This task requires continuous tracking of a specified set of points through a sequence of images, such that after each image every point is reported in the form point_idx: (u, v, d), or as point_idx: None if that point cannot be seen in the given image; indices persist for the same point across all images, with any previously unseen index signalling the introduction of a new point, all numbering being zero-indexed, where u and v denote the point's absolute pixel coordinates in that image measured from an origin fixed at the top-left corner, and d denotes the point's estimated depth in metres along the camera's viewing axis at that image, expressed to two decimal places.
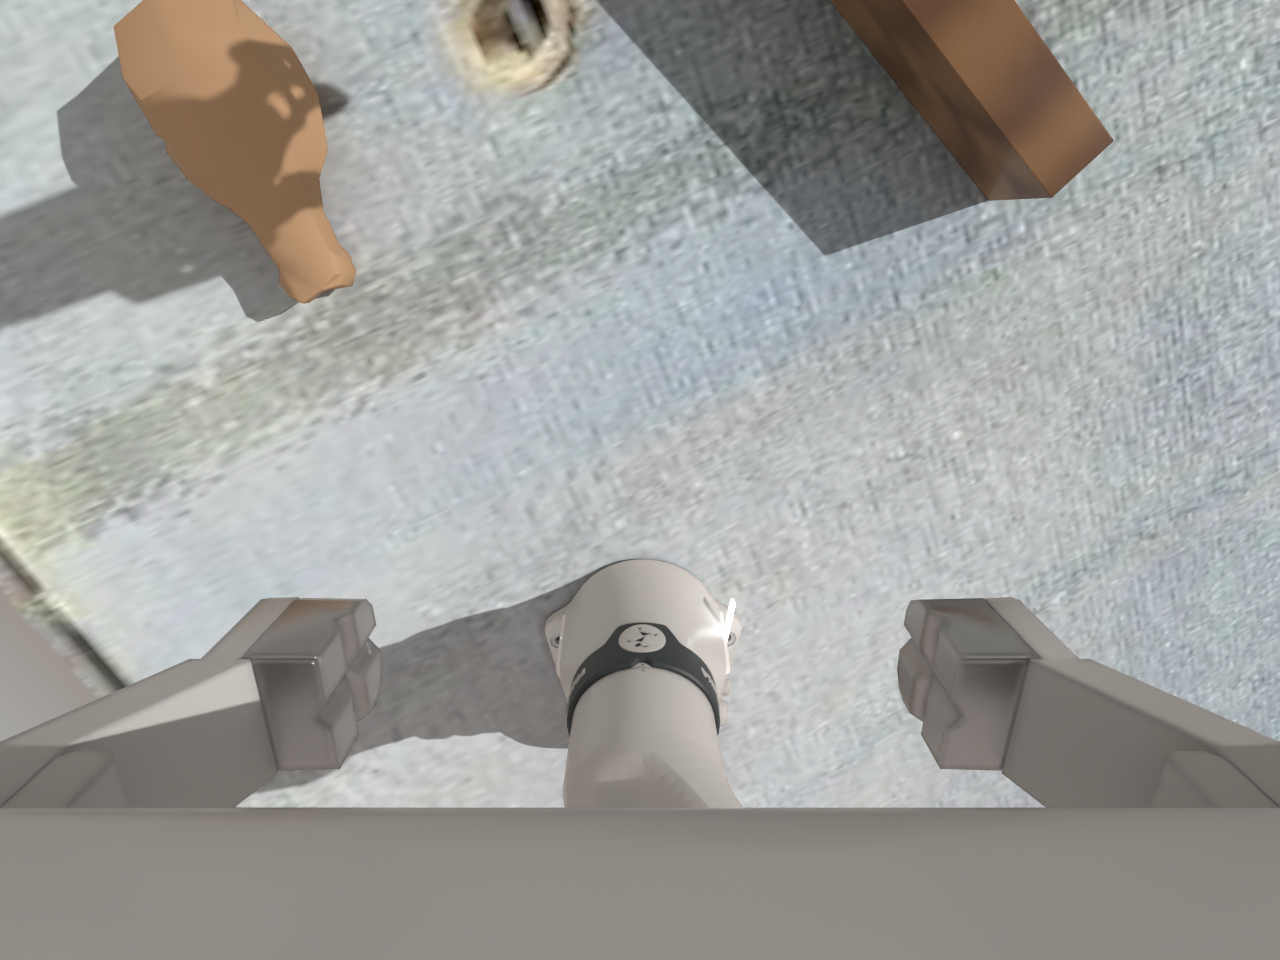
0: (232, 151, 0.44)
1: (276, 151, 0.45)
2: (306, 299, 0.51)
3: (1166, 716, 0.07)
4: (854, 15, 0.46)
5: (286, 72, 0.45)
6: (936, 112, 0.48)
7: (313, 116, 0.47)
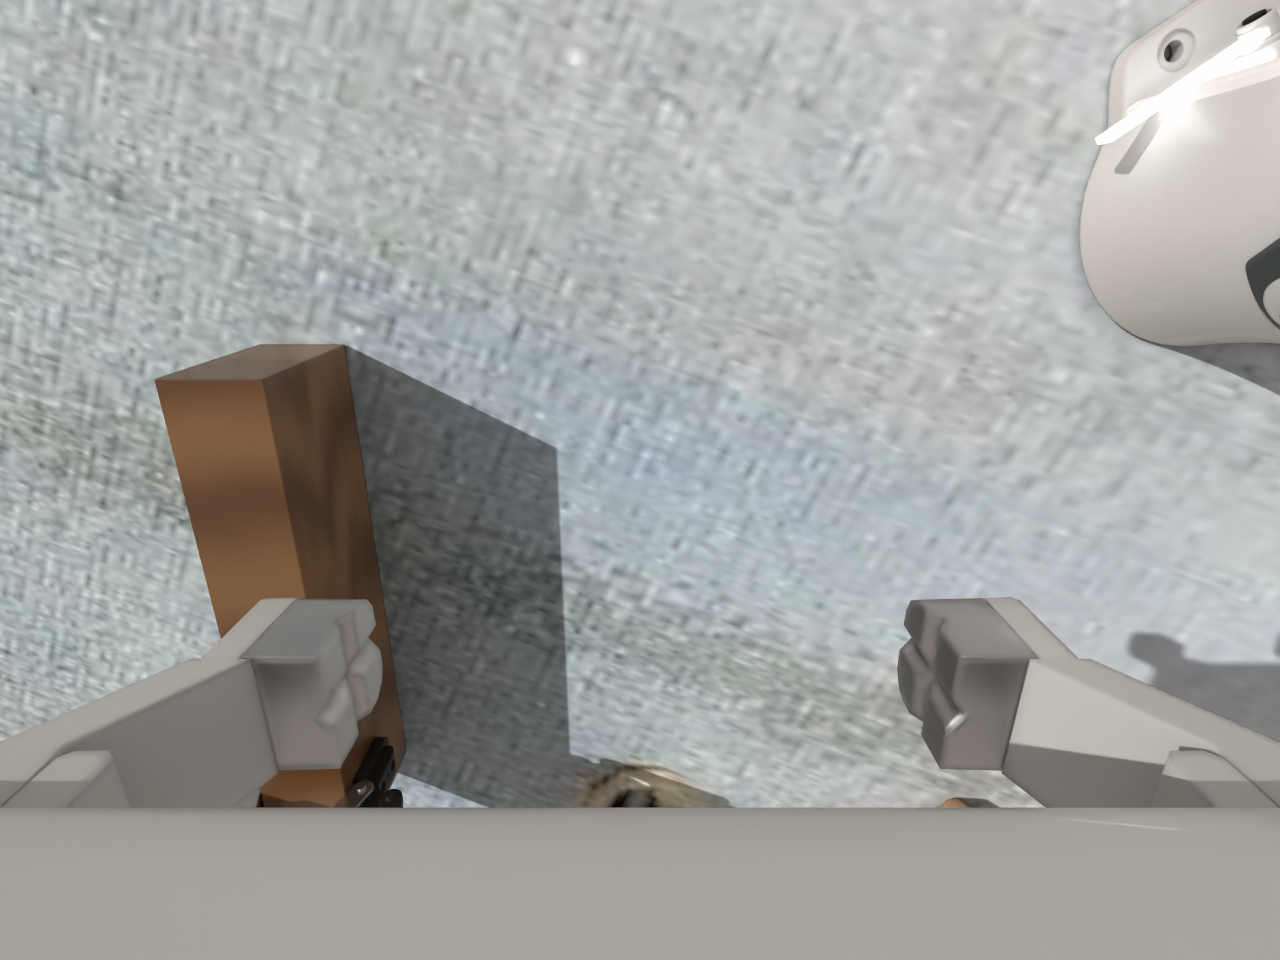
0: None
1: None
2: None
3: (1167, 715, 0.07)
4: (375, 626, 0.41)
5: None
6: (348, 501, 0.37)
7: None
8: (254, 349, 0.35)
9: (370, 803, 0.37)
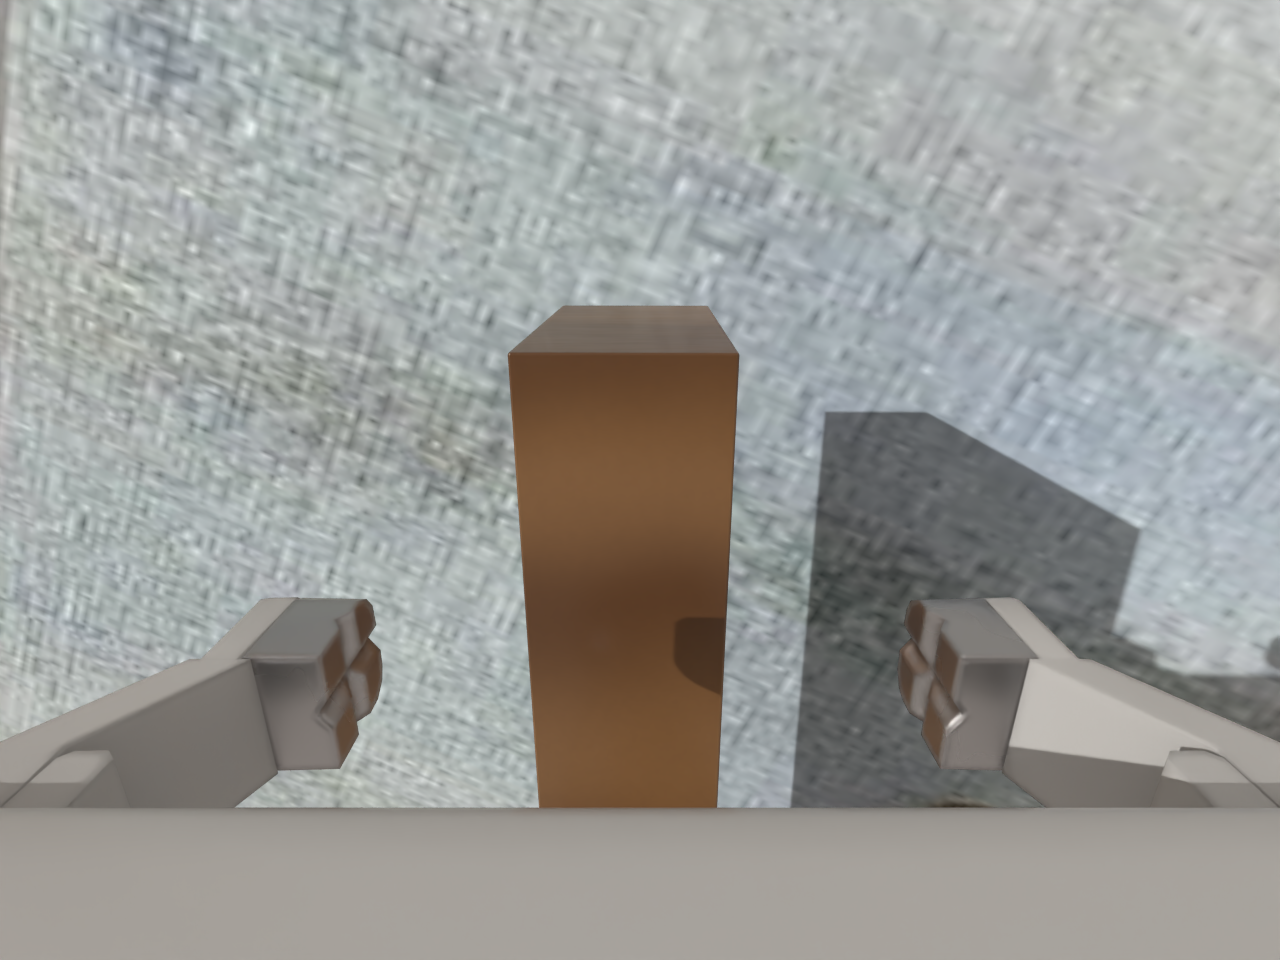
0: None
1: None
2: None
3: (1166, 716, 0.07)
4: None
5: None
6: None
7: None
8: (574, 311, 0.20)
9: None
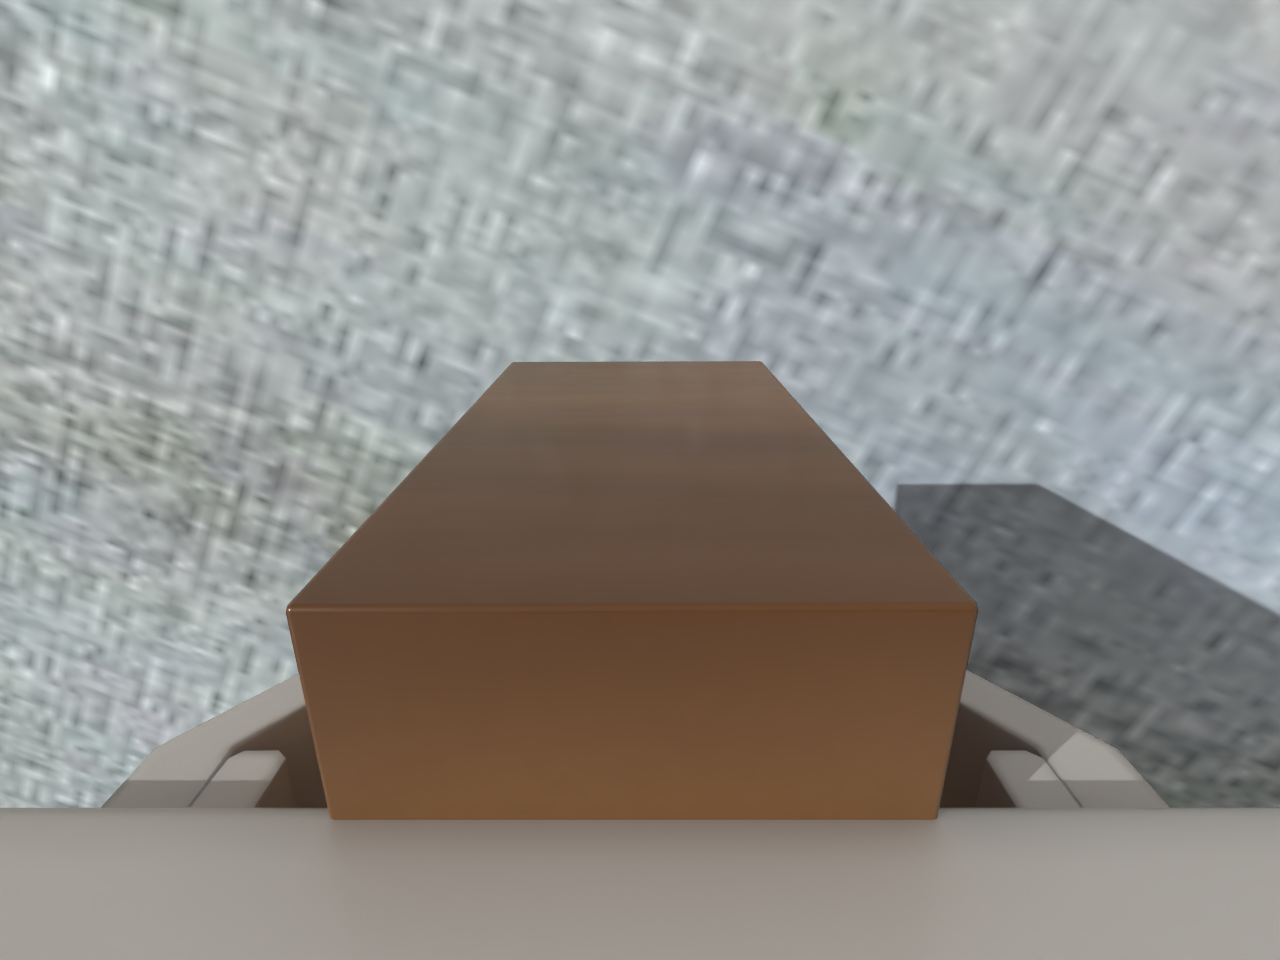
0: None
1: None
2: None
3: (1000, 715, 0.07)
4: None
5: None
6: None
7: None
8: (529, 379, 0.11)
9: None
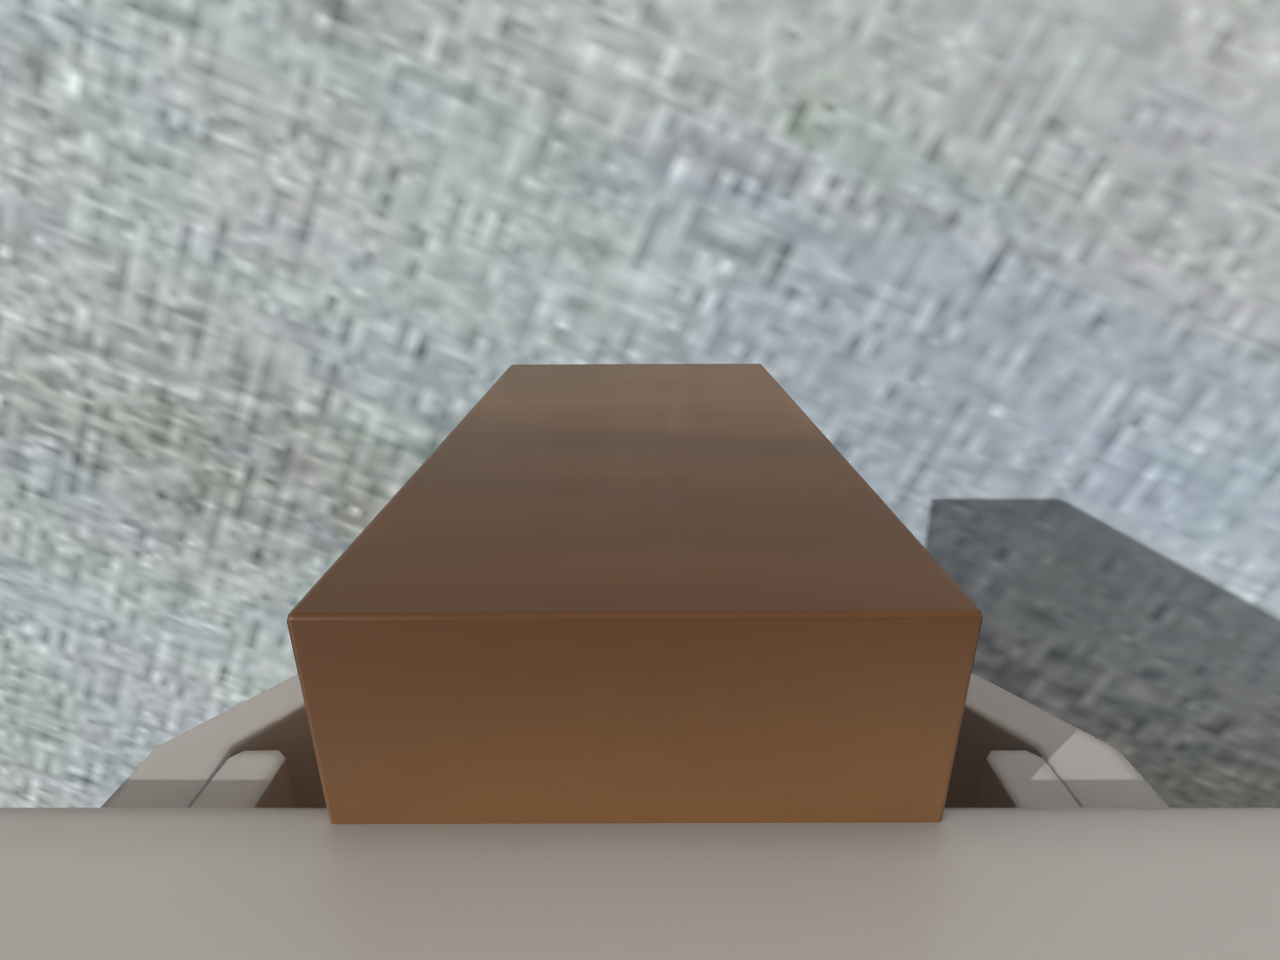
0: None
1: None
2: None
3: (1000, 715, 0.07)
4: None
5: None
6: None
7: None
8: (528, 382, 0.11)
9: None
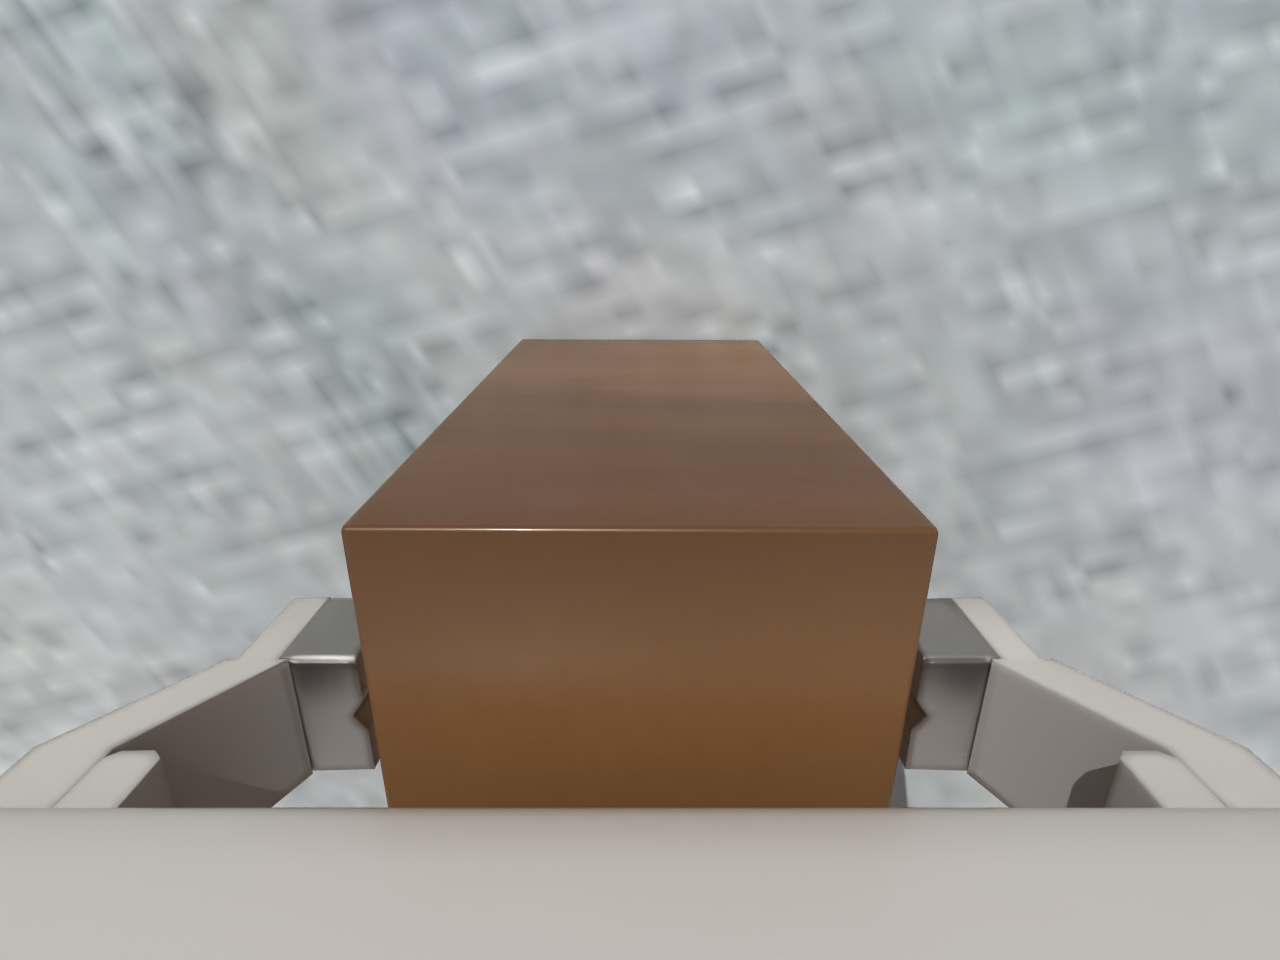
0: None
1: None
2: None
3: (1123, 715, 0.07)
4: None
5: None
6: None
7: None
8: (538, 354, 0.12)
9: None
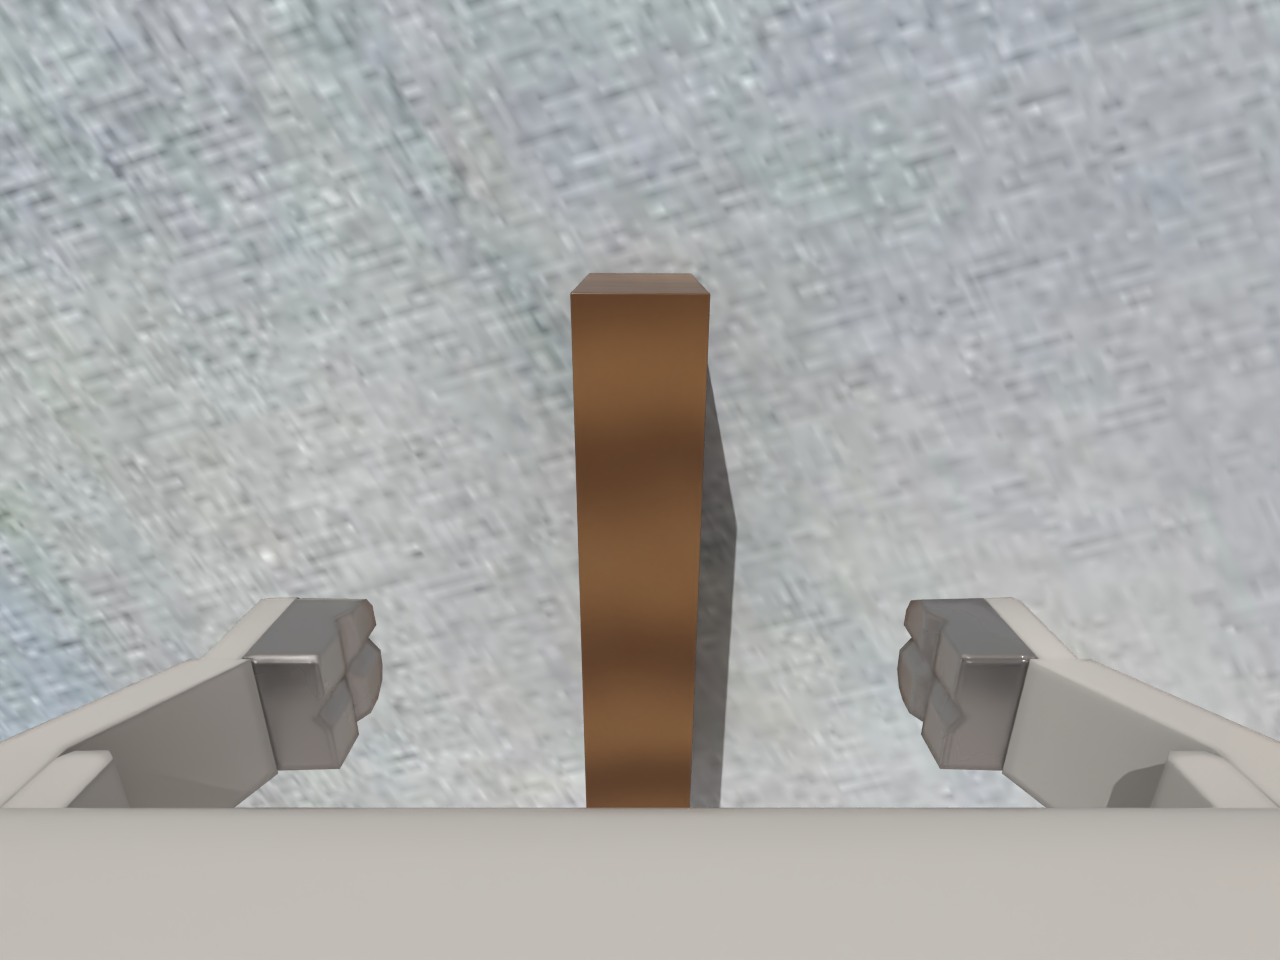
0: None
1: None
2: None
3: (1166, 715, 0.07)
4: None
5: None
6: None
7: None
8: (599, 276, 0.29)
9: None
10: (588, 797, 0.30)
